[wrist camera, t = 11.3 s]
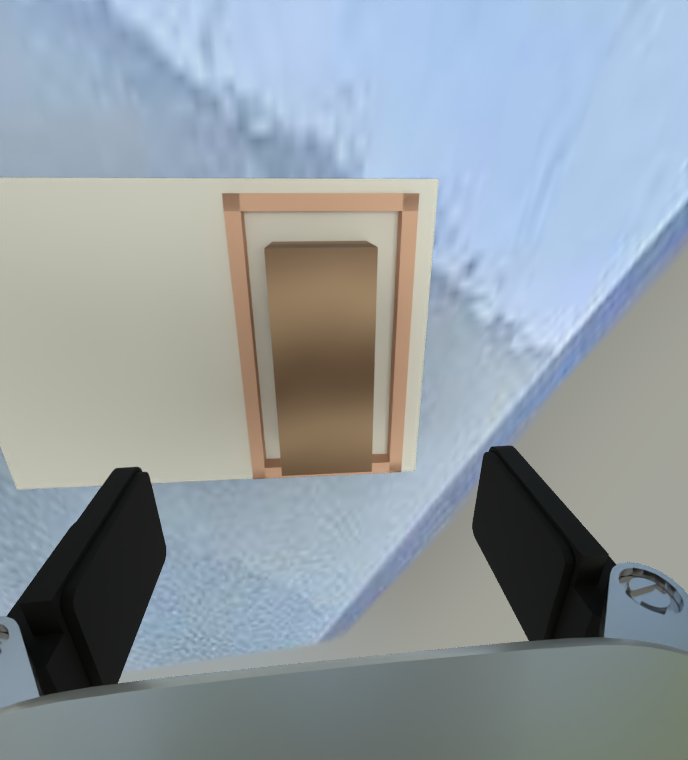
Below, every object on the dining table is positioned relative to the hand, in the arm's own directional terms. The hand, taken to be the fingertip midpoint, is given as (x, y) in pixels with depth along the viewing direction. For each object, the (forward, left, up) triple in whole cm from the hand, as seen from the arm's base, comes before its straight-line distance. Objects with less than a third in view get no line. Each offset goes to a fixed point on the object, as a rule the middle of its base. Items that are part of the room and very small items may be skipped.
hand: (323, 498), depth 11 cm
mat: (-7, 0, -14) cm, 15 cm away
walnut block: (0, 0, -14) cm, 14 cm away
